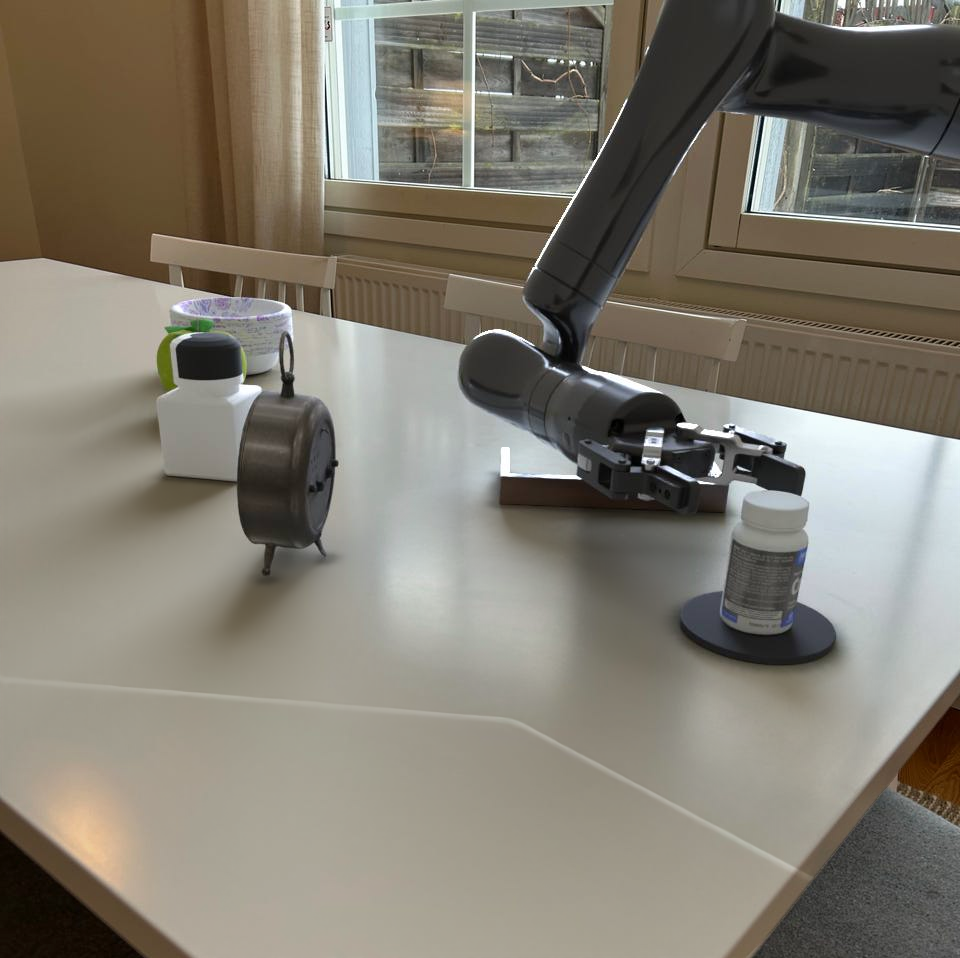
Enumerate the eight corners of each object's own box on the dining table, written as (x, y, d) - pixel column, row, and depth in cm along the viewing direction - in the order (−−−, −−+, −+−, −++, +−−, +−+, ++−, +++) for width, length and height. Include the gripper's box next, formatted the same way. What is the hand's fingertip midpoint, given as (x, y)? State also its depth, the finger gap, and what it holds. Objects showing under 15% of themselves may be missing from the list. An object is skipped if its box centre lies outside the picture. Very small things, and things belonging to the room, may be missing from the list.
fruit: (146, 418, 106) (134, 322, 101) (191, 399, 114) (181, 309, 109) (223, 427, 104) (214, 329, 99) (263, 406, 112) (257, 315, 107)
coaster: (730, 584, 71) (731, 578, 71) (861, 631, 65) (863, 624, 65) (649, 626, 65) (650, 619, 65) (786, 681, 59) (788, 674, 58)
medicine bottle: (267, 460, 94) (258, 331, 89) (238, 482, 88) (226, 345, 82) (197, 454, 95) (184, 326, 90) (163, 476, 89) (147, 339, 83)
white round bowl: (237, 387, 120) (232, 320, 116) (150, 370, 127) (142, 305, 123) (318, 367, 131) (316, 305, 128) (235, 352, 138) (230, 292, 135)
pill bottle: (799, 638, 63) (825, 514, 59) (725, 635, 63) (746, 510, 59) (782, 607, 67) (805, 488, 63) (713, 603, 67) (731, 485, 63)
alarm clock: (282, 527, 79) (269, 316, 71) (349, 531, 78) (342, 320, 71) (238, 581, 69) (218, 344, 61) (314, 587, 69) (303, 349, 61)
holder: (499, 473, 93) (500, 447, 92) (707, 481, 93) (710, 455, 92) (499, 503, 85) (500, 476, 84) (725, 512, 85) (729, 485, 84)
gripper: (534, 385, 71) (664, 445, 59) (693, 373, 77) (844, 425, 64) (528, 484, 75) (650, 562, 62) (681, 465, 81) (822, 532, 68)
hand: (748, 492), depth 63 cm, fingers open, 8 cm apart
